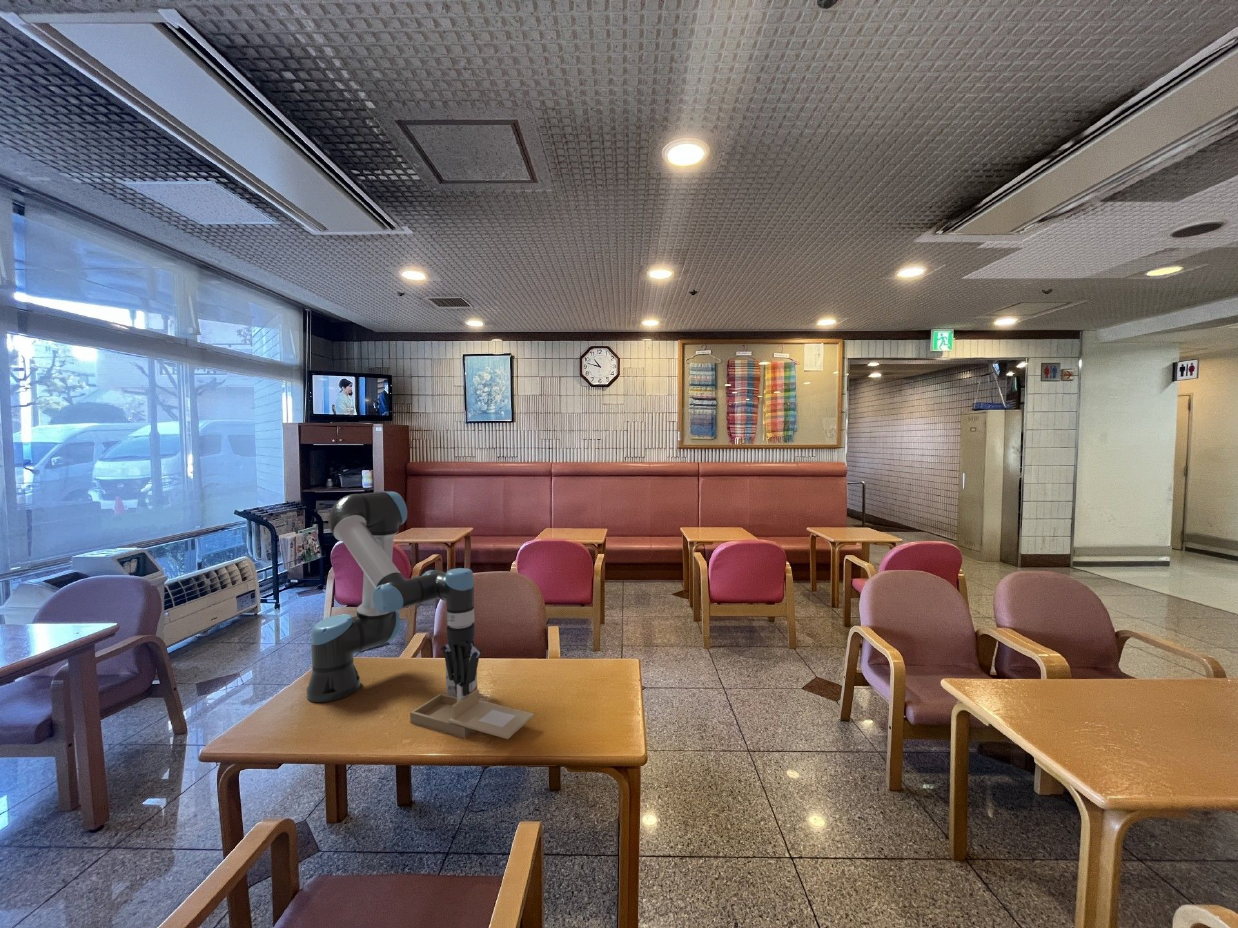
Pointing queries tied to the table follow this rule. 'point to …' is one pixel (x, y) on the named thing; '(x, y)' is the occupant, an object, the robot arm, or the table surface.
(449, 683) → the ink box
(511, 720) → the lid
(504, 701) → the table surface
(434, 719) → the mailer
